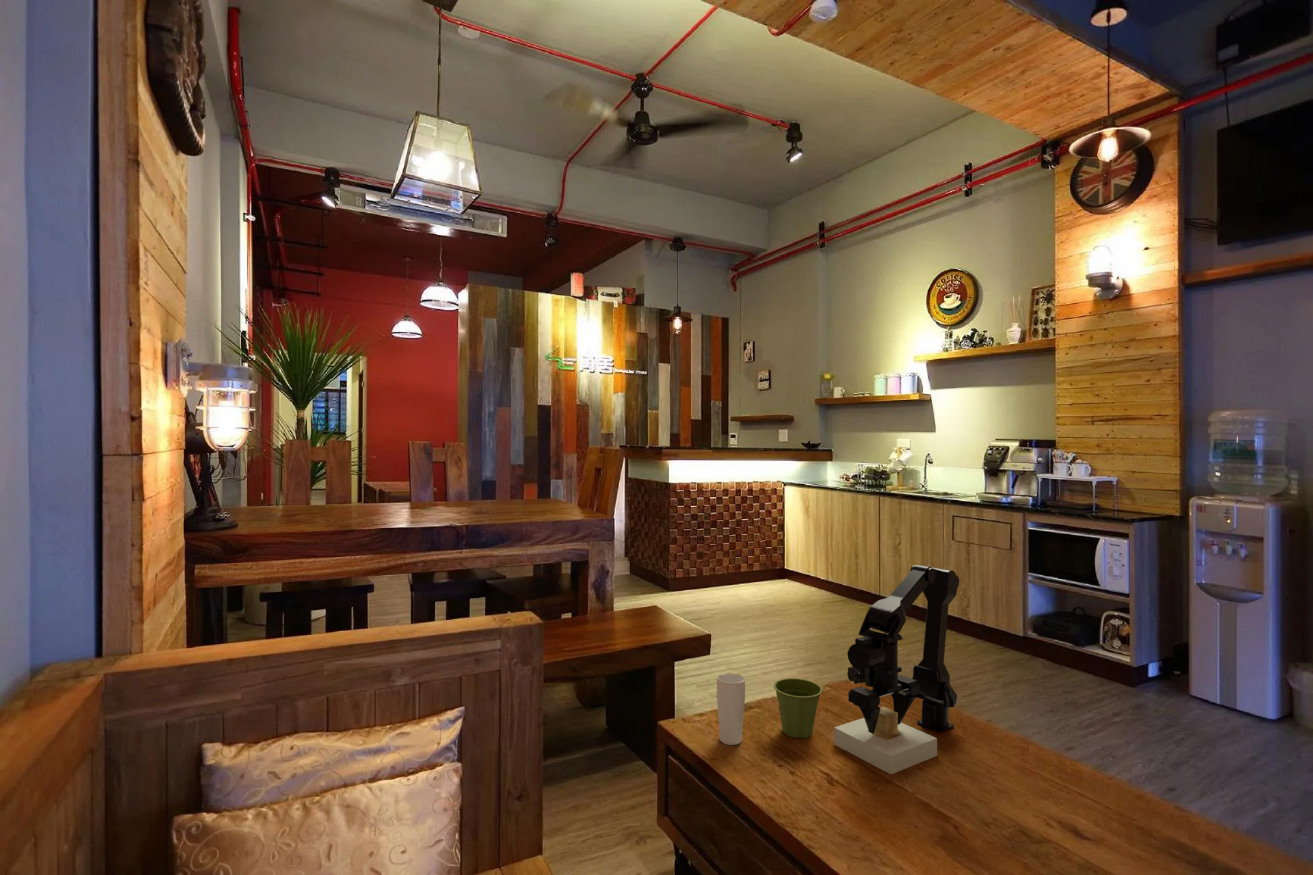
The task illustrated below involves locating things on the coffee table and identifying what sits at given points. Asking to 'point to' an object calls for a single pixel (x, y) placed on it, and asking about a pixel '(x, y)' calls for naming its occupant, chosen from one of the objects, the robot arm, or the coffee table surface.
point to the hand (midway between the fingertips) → (884, 728)
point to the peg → (887, 724)
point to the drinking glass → (730, 707)
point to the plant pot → (797, 705)
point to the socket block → (886, 746)
